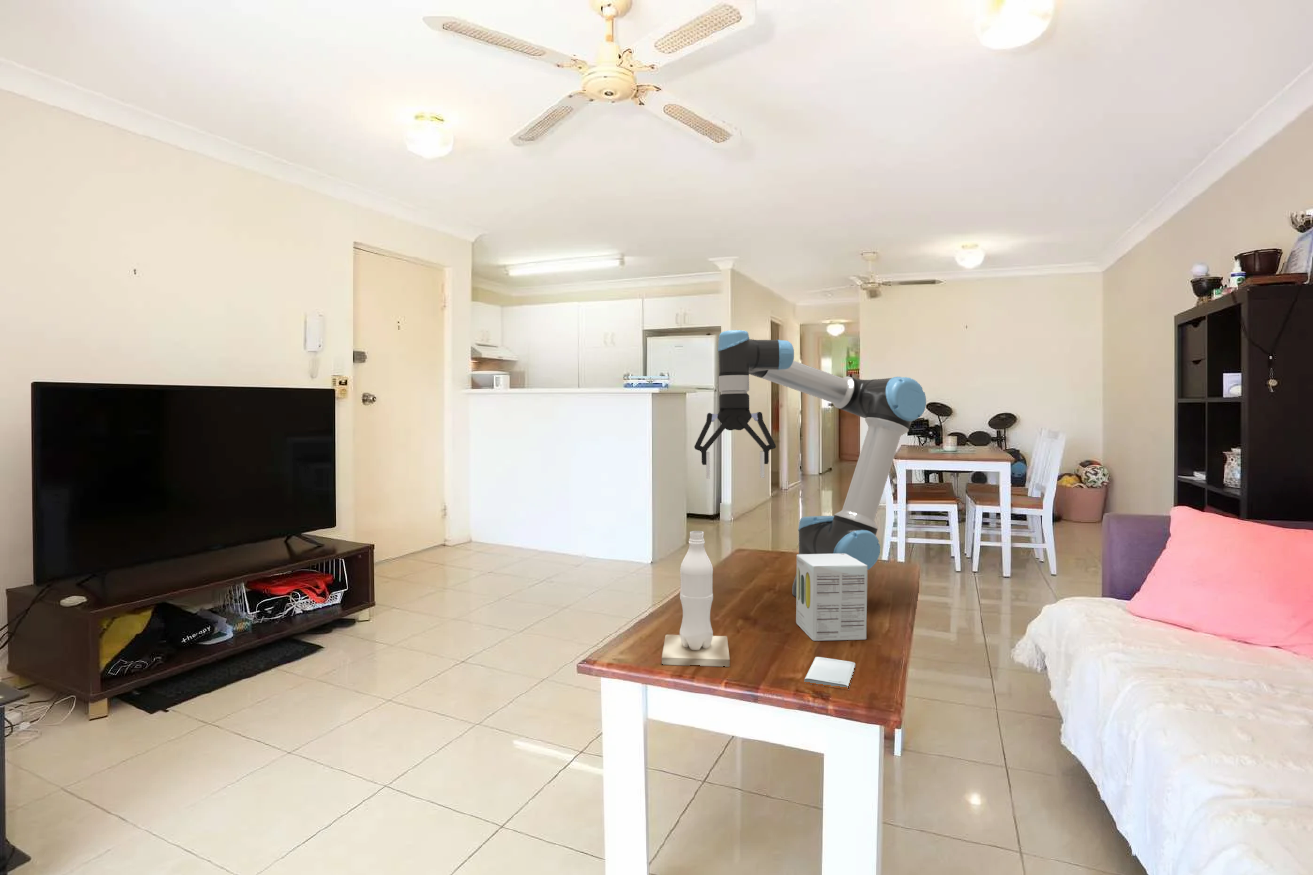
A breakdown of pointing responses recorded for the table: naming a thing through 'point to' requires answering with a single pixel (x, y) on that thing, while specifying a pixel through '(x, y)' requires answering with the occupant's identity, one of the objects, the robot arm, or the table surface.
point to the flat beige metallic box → (696, 652)
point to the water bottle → (696, 594)
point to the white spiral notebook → (830, 672)
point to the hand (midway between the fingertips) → (735, 477)
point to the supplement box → (831, 596)
